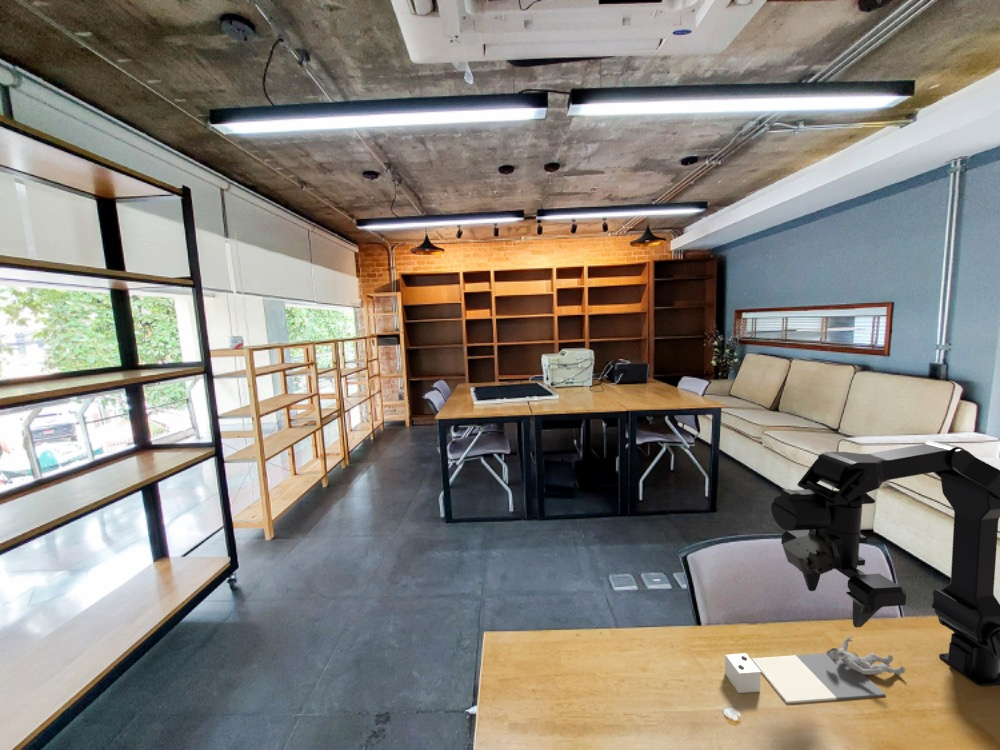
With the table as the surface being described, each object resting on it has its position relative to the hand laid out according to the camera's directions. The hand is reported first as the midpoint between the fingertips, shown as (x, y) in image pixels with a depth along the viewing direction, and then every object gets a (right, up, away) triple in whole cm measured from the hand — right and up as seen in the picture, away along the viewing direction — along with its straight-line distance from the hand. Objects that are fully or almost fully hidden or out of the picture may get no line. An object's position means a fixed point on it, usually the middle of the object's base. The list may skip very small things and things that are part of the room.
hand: (832, 607), depth 70 cm
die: (-15, -15, +2) cm, 22 cm away
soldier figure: (+14, -14, +3) cm, 21 cm away
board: (-1, -15, +3) cm, 15 cm away
